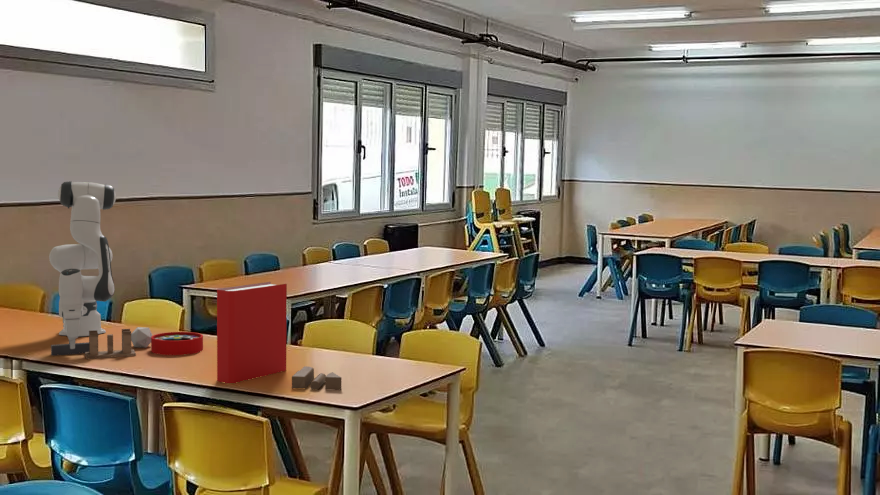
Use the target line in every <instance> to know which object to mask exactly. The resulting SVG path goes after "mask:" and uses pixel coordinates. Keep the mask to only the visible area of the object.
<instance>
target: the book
mask: <svg viewBox="0 0 880 495" xmlns="http://www.w3.org/2000/svg"><path fill="white" fill-rule="evenodd" d="M287 285H288V283H282V284H272V283H271V281H267V282H265V281H264V282H259V283H258V282H257V283H251V284H245V285H243V284H242V285H235V286H230V287H229V286H228V287H222V288H217V289H216V361H217V362H216V378H217V380H216V382H217V381H220V382H219V383H222V382H225V383H224V384H227V383H235V384H237V383H236V382H239V383H241V382H240V381H243V380H247V381H249V380H248V379H251V380H253V379H252V378H255V379H257V378H256V377H259V378H261V377H260V376H262V377H265V375H266V376H270V375H273V373H274V374H278V373H282V372H286V371H287V323H288V322H287V320H288V318H287V317H288V316H287V314H288V313H287V312H288V311H287V306H288V304H287V301H288V300H287V299H288V297H287V293H288V292H287V289H288V288H287ZM285 370H286V371H285ZM281 371H282V372H281ZM277 372H278V373H277ZM269 374H270V375H269ZM243 382H244V381H243Z"/></svg>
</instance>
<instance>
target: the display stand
mask: <svg viewBox="0 0 880 495" xmlns="http://www.w3.org/2000/svg"><path fill="white" fill-rule="evenodd" d="M131 334H132V331H131V328H122V329H121V349H118V350H114V335H113V334H112V333H111V334H110V333H109V334H106V338H107V339H106V340H107V343H106V347H107V350H102V351H101V350H100V351H99V334H98V333H97V330H95V331H89V336H88V338H89V340H88V342H89V352H85V353H84V355H85V356H84V357H85V359H86V360H89V359H92V360H93V359H107V358H123V357H136V355H137V354H136V351H135V349H133V348H132V341H131Z"/></svg>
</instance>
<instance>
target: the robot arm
mask: <svg viewBox="0 0 880 495" xmlns="http://www.w3.org/2000/svg"><path fill="white" fill-rule="evenodd" d="M57 196H58V197H57V198H58V201H59V203H60V204H61V205H62V206H63V207H65V208H67V209H70V208H71V212H70V222H69V223H70V224H69V231H70V235H71V237H72V238H73V240H74V241H75V242H77V244H75V243H74V244H71V243H70V244H62V245H57V246H54V247H52V249H51V250H50V252H49V255H48V256H49V257H48V260H49V264H50V265H51V266H52V268H53V269H54V270H56V271H58V272H59V273H60V274H59V277H58V295H59V300H58V316H59V317H61V318H62V327H63V328H62V329H61V330H60V331H59V333H58V335H59V336H67V339H68V344H70V349H75V343H76V339H78V338H79V337H89V331H95V330H97V333H98V335H99V334H100V335H101V334H105V333H107V332H106V329H104V328H102V323H101V321H102V320H101V316H102V315H101V313H99V312H98V311H97V309H98V304H97V302H104V303H105V302H107V301H108V300H110V299H111V298H112V297H113V296H114V294H115V282H114V277H113V272H112V270H113V269H112V261H113V256H114V255H113V251H112V248H110V245H109V241H108V238H107V237H106V236H105V235H103V233H102V230H101V220H102V217H101V215H102V214H101V210H103V211H104V210H110V209H112V208H113V206H114V205H115V203H116V201H117V200H116V199H117V194H116V190H115V188H114V187H113V186H112V185H110V184H107V183H105V184H103V183H97V182H91V181H88V182H84V181H72V180H70V181H63V182H62V183H61V185H60V187H59V189H58V192H57ZM97 269H98V275H83V274H82V270H97Z"/></svg>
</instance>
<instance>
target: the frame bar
mask: <svg viewBox="0 0 880 495" xmlns="http://www.w3.org/2000/svg"><path fill="white" fill-rule="evenodd" d="M85 352H89V341H87V342H86V341H85V342H77V343H76V342H75V349H70V344H69V343H57V344H51V345H50V355H51V356H53V357H54V356H66V355H67V356H68V355H79V354H85Z"/></svg>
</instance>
